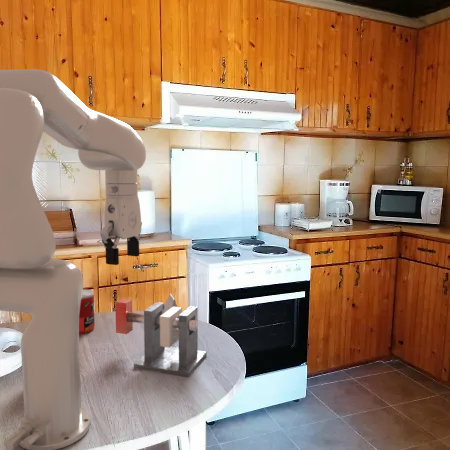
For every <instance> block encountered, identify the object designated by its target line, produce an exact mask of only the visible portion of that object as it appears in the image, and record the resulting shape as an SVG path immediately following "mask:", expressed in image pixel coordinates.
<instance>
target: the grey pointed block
mask: <svg viewBox="0 0 450 450" xmlns="http://www.w3.org/2000/svg"><path fill="white" fill-rule="evenodd" d="M172 307H178V305H177V303H176V299H175V298H174V296H173V295H172V293H169V294H168V297H167V300H166V301H165V303H164V313H165V312H166V311H168V310H169V309H170V308H172Z"/></svg>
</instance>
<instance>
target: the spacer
mask: <svg viewBox="0 0 450 450" xmlns="http://www.w3.org/2000/svg"><path fill="white" fill-rule="evenodd" d="M182 312H183V307H180V306H177V307H172V308H170V309H169V310H168V311H166V312H165V313H164V314H162V315H161V316H160V346H162V347H169V348H170V347H171V346H173V345H174V344H175V343H176V342H177V341H179V329H178V328H172V321H173V320H174V319H176V318H179V314H181V313H182Z"/></svg>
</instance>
